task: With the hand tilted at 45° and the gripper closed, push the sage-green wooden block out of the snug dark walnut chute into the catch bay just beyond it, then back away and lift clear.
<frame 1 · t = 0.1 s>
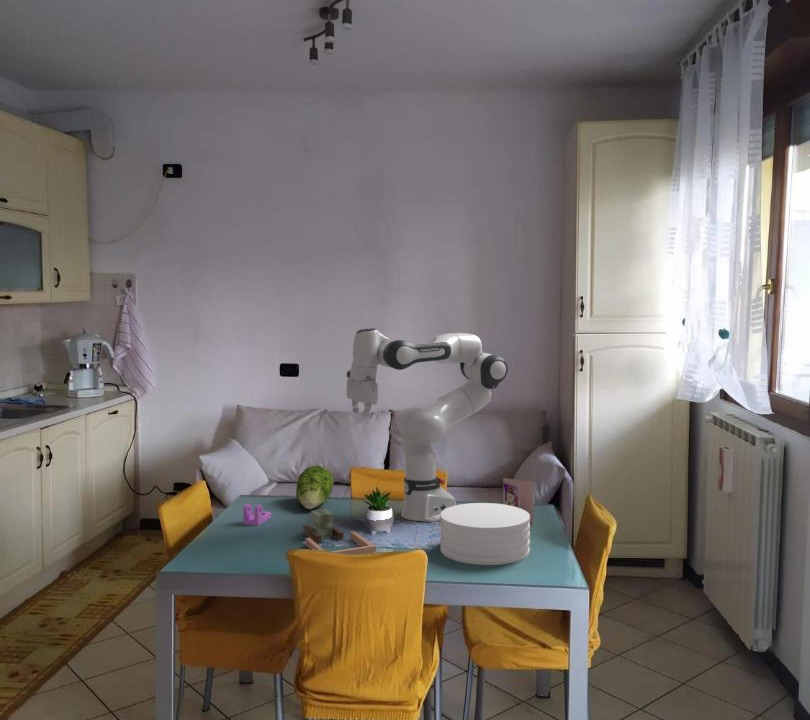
hand: (360, 414, 274), 39 cm above the table, fingers open, 8 cm apart
sage block: (322, 535, 265), on the table
plate stack: (484, 550, 249), on the table
bracket: (258, 520, 284), on the table
greeting card: (518, 523, 278), on the table
walnut chute: (323, 536, 264), on the table
lettuce: (313, 505, 303), on the table
catch bay: (339, 549, 250), on the table
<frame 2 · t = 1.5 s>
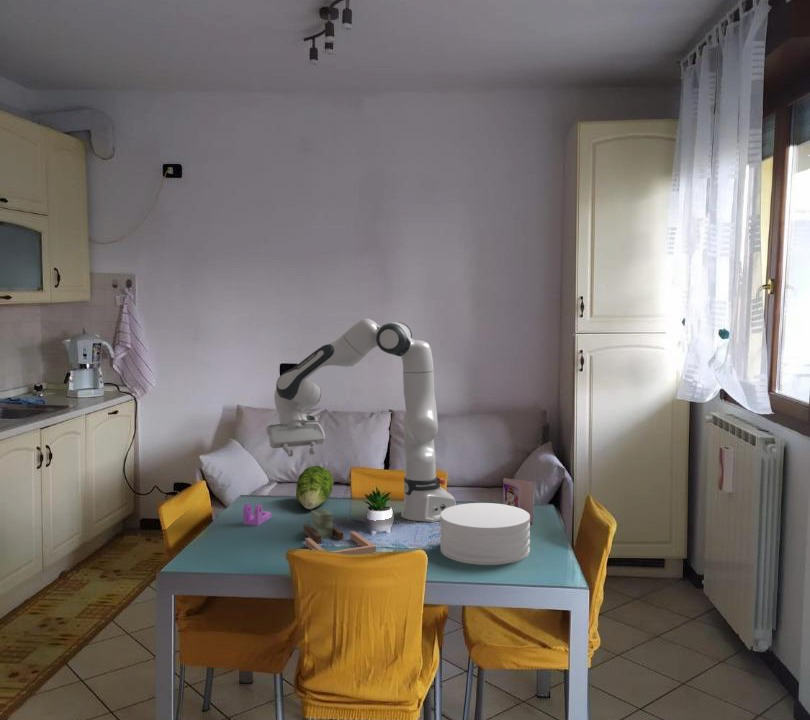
hand: (301, 454, 281), 24 cm above the table, fingers open, 7 cm apart
nothing on the table moved.
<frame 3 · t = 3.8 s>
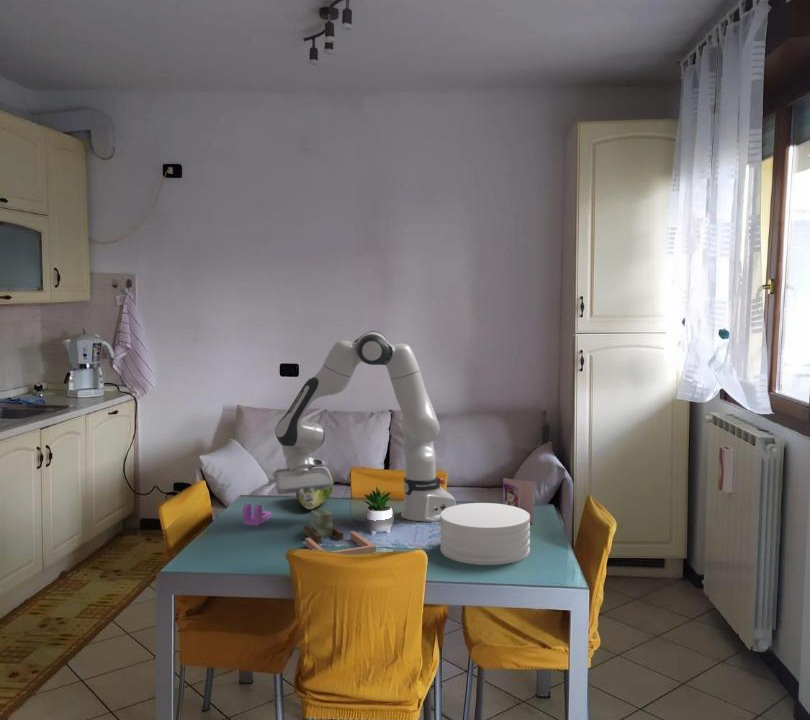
hand: (308, 500, 276), 9 cm above the table, fingers closed
nothing on the table moved.
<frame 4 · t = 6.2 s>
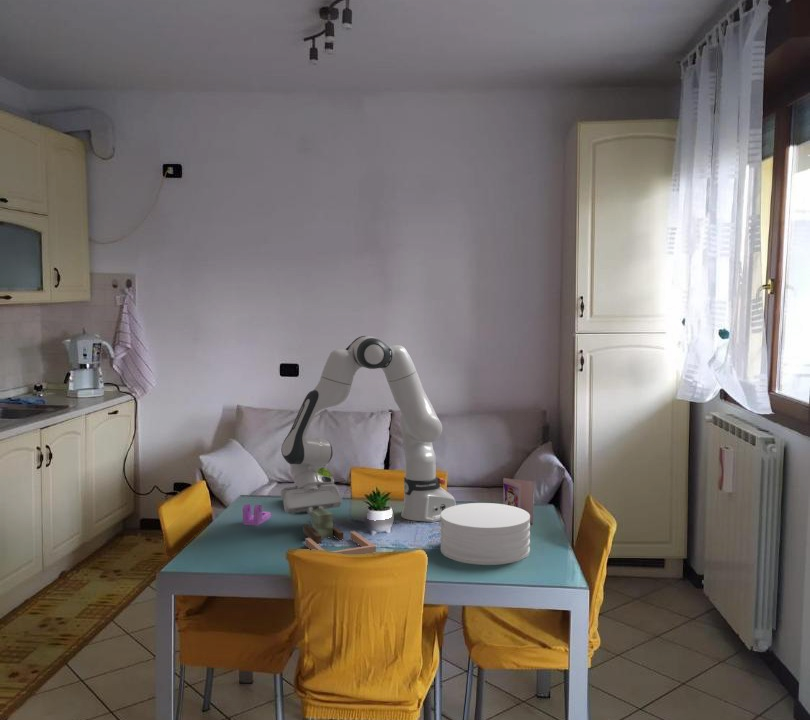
hand: (318, 519, 268), 4 cm above the table, fingers closed, pressing on sage block
sage block: (322, 535, 265), on the table, touching gripper
everything else where it was.
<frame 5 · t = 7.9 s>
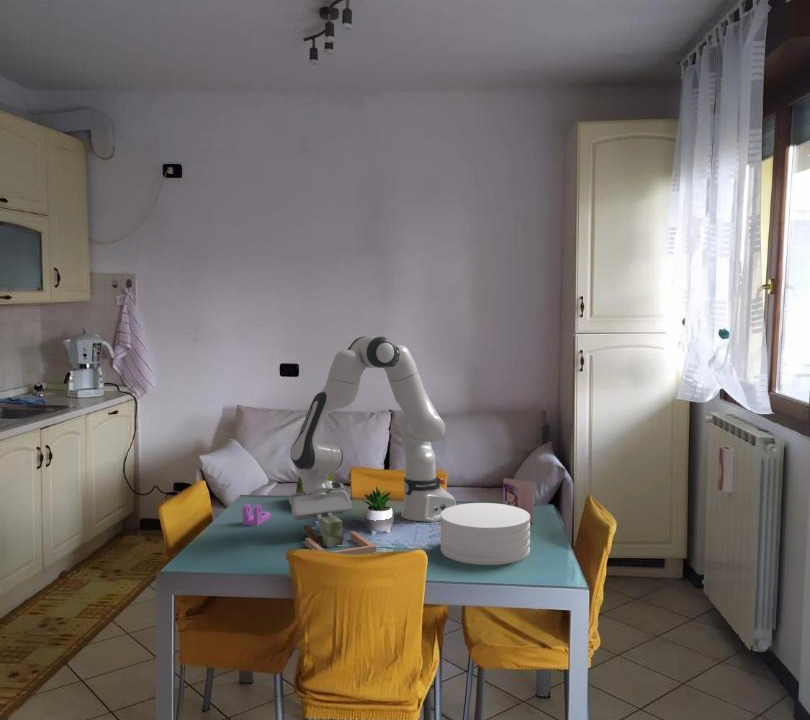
hand: (327, 527, 259), 4 cm above the table, fingers closed, pressing on sage block
sage block: (331, 543, 256), on the table, touching gripper
everything else where it was.
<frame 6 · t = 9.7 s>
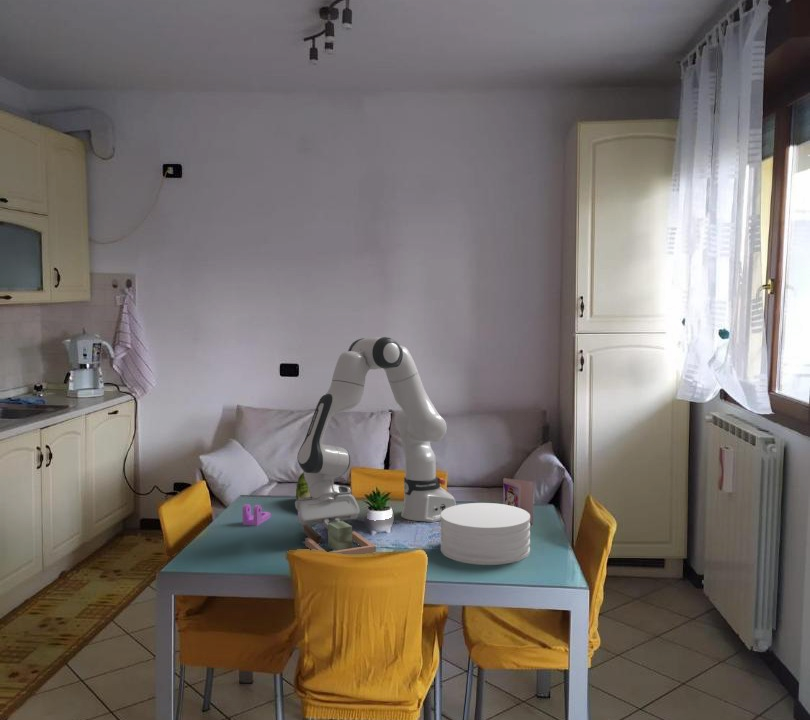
hand: (334, 532, 254), 4 cm above the table, fingers closed
sage block: (340, 549, 250), on the table, touching gripper
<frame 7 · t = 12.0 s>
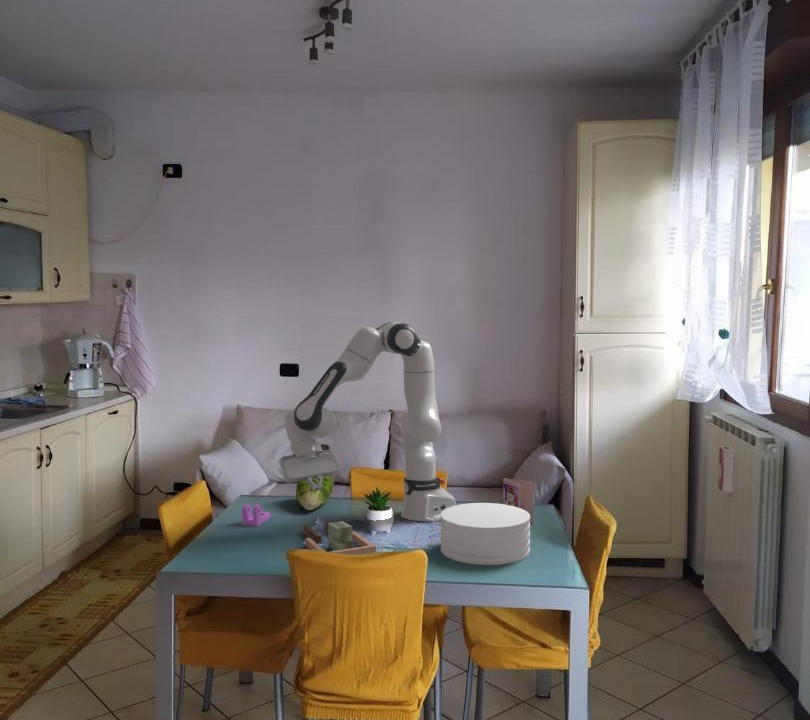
hand: (317, 489, 266), 15 cm above the table, fingers closed
sage block: (340, 549, 250), on the table
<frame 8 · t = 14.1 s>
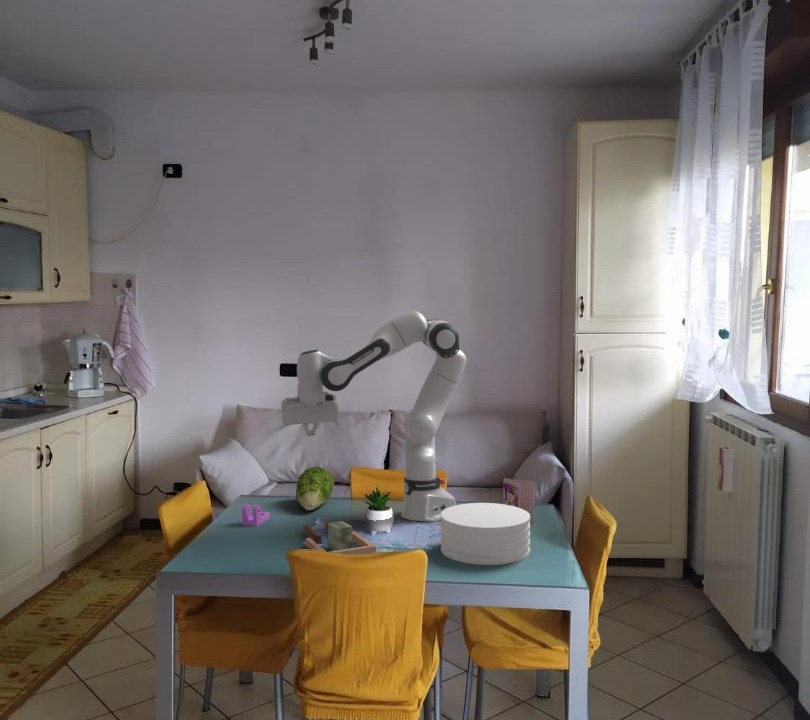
hand: (310, 435, 277), 31 cm above the table, fingers closed
at the end: sage block inside the target area (0.8 cm from its centre), on the table; sage block tilted 0°; the gripper is holding nothing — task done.
